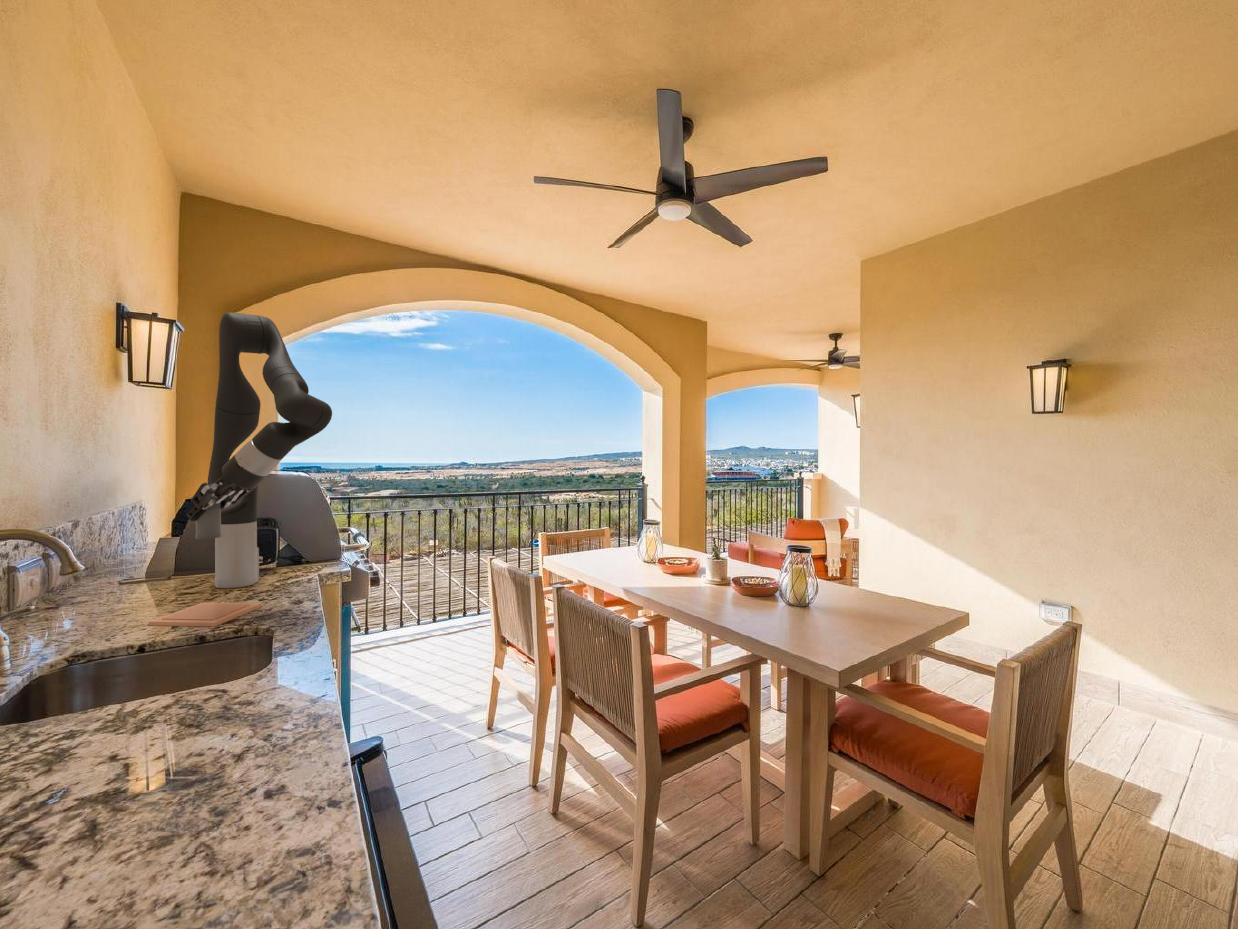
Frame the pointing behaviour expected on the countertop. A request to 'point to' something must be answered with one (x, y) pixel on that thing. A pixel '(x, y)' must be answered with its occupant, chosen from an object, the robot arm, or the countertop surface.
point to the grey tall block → (209, 522)
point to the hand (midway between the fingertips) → (199, 516)
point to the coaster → (205, 614)
